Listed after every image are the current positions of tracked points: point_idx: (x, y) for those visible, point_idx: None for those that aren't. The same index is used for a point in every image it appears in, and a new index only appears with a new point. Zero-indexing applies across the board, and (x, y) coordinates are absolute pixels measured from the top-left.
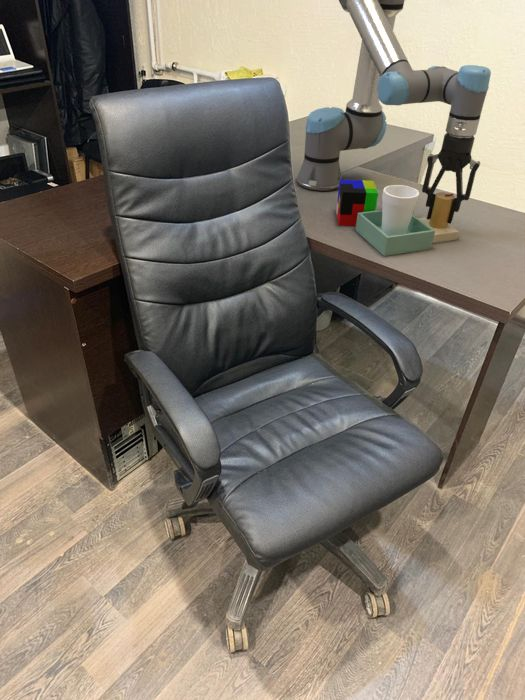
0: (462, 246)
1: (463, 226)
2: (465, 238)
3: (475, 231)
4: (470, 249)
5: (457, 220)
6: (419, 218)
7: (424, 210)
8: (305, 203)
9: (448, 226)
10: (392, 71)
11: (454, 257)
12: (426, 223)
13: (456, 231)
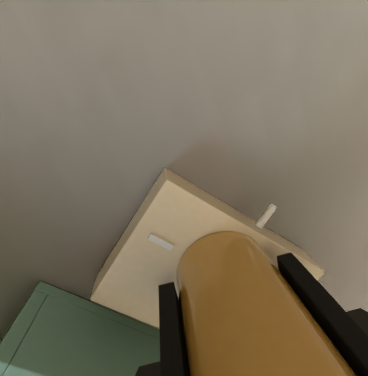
0: (335, 282)
1: (297, 92)
2: (332, 214)
3: (360, 111)
4: (364, 284)
5: (249, 28)
6: (112, 270)
7: (20, 9)
8: None
9: (271, 257)
10: None
11: None
12: None
13: (317, 278)
